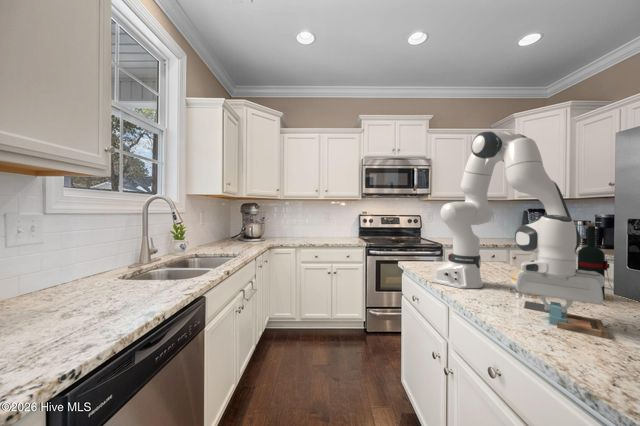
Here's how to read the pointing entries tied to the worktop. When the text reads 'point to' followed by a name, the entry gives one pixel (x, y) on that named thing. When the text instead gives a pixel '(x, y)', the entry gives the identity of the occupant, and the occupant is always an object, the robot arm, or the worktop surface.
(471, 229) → the robot arm
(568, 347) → the worktop surface
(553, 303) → the pusher
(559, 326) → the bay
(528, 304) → the mat
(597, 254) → the wine bottle
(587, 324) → the tile
